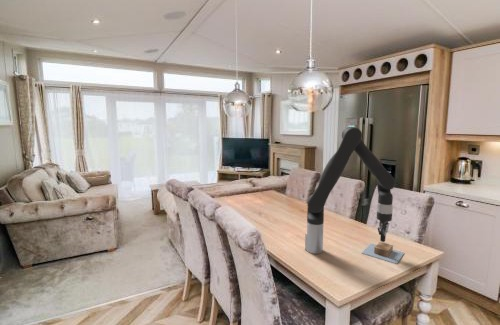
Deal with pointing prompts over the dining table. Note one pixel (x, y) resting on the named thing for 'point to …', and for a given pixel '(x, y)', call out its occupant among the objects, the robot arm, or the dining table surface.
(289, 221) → the dining table surface
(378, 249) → the slab
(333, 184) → the robot arm
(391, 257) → the mat
